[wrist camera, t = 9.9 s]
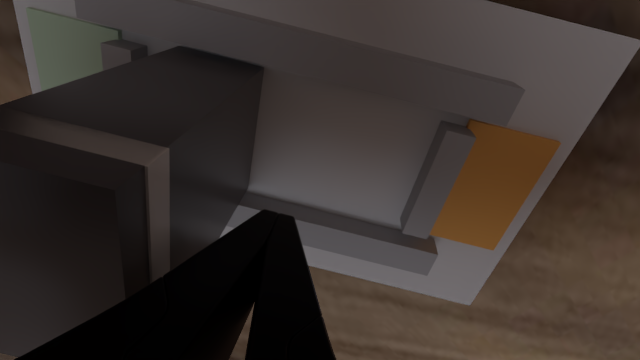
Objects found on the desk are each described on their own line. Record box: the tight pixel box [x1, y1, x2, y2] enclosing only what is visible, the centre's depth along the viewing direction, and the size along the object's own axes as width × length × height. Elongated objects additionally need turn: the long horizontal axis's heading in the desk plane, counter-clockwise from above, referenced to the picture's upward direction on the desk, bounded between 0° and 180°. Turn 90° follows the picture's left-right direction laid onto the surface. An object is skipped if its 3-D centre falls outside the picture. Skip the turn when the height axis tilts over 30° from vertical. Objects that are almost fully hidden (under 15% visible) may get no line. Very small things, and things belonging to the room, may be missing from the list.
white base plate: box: [13, 0, 640, 305], centre depth 13 cm, size 20×12×1 cm, turn 77°
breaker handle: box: [0, 46, 264, 357], centre depth 10 cm, size 3×5×8 cm, turn 168°
